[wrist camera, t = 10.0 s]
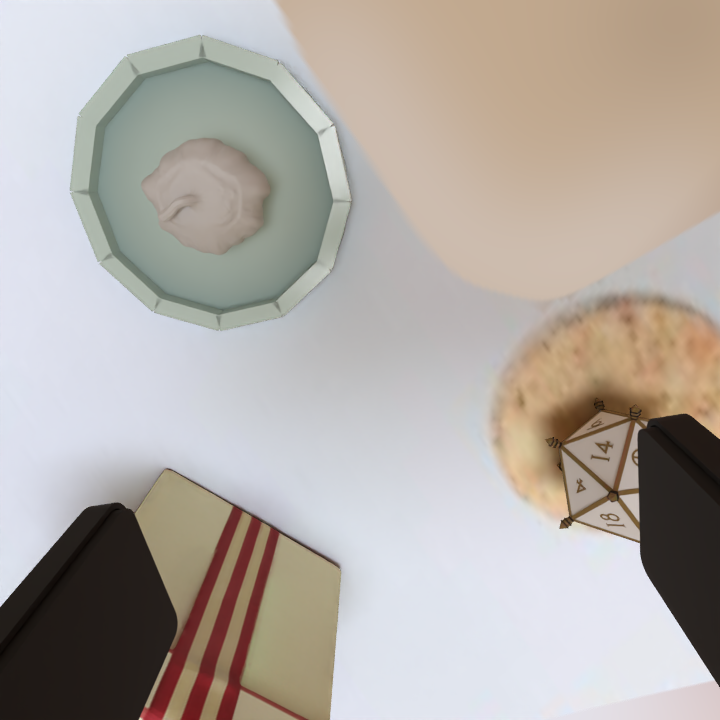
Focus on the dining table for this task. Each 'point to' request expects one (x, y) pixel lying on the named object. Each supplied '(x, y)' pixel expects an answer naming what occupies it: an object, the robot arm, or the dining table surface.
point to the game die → (603, 472)
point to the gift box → (238, 612)
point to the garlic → (207, 195)
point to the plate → (235, 129)
